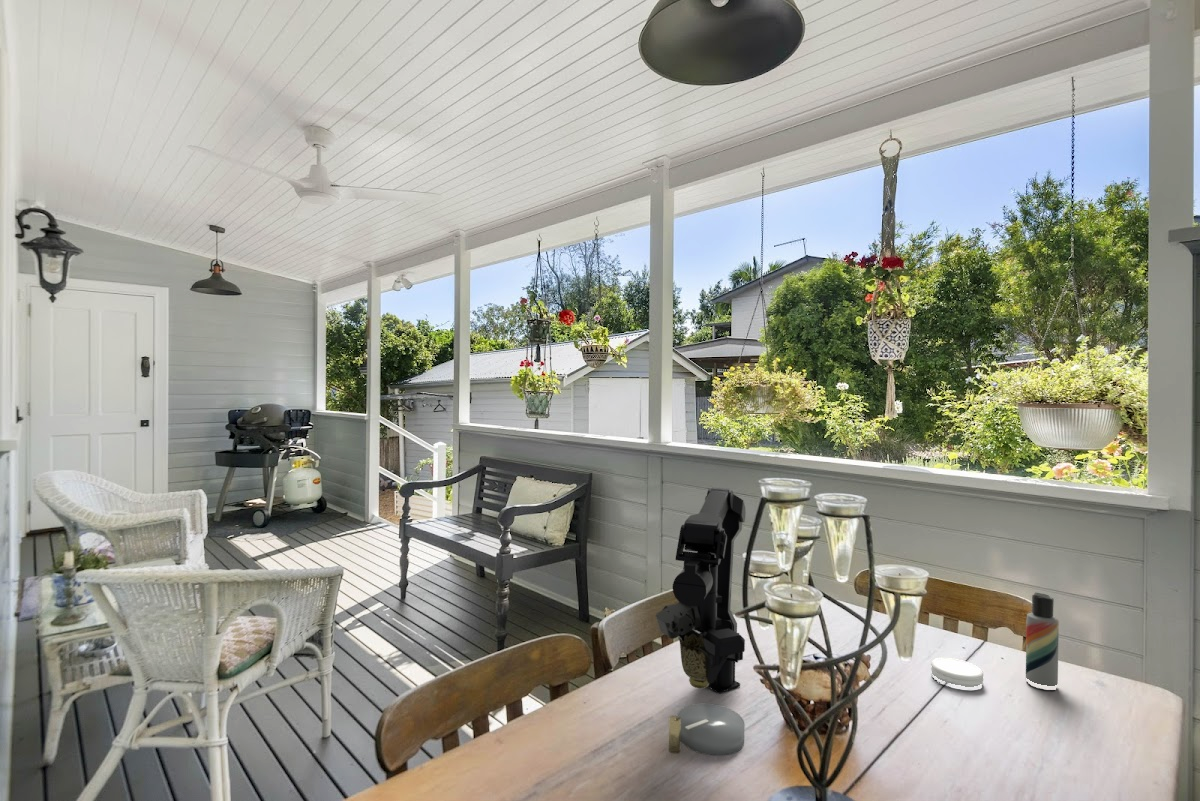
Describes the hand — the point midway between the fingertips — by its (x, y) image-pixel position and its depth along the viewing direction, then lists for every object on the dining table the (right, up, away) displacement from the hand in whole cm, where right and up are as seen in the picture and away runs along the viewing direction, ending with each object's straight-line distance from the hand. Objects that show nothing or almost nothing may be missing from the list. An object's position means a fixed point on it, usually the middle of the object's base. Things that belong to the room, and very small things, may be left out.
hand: (699, 674), depth 110 cm
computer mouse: (+2, -11, -1) cm, 11 cm away
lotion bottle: (+79, -13, +22) cm, 83 cm away
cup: (0, -2, 0) cm, 2 cm away
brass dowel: (-5, -11, -5) cm, 13 cm away
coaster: (+61, -13, +24) cm, 67 cm away
